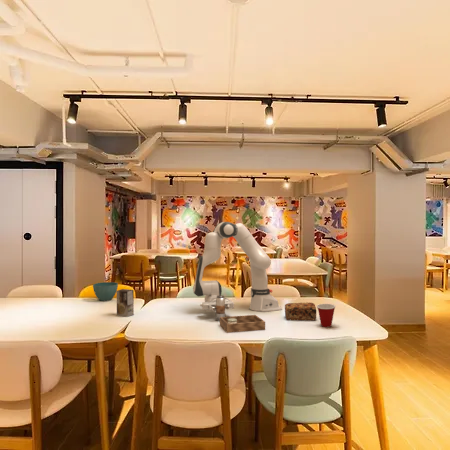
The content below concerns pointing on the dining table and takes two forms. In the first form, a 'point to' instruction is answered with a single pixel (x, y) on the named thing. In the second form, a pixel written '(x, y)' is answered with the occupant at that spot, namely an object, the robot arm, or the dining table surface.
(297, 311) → the bread
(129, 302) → the coffee box
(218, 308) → the canister
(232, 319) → the jar
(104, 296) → the teal bowl
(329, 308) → the plastic cup
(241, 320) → the crate
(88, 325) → the dining table surface
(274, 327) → the dining table surface
